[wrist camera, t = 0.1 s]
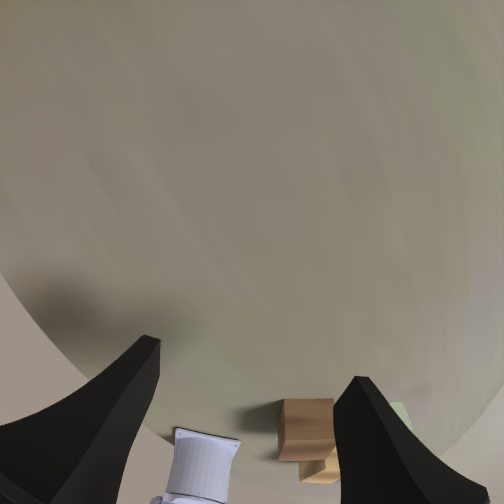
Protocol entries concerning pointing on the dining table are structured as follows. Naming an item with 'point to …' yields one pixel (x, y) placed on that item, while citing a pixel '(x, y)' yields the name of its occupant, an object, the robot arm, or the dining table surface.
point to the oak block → (320, 469)
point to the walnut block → (305, 429)
